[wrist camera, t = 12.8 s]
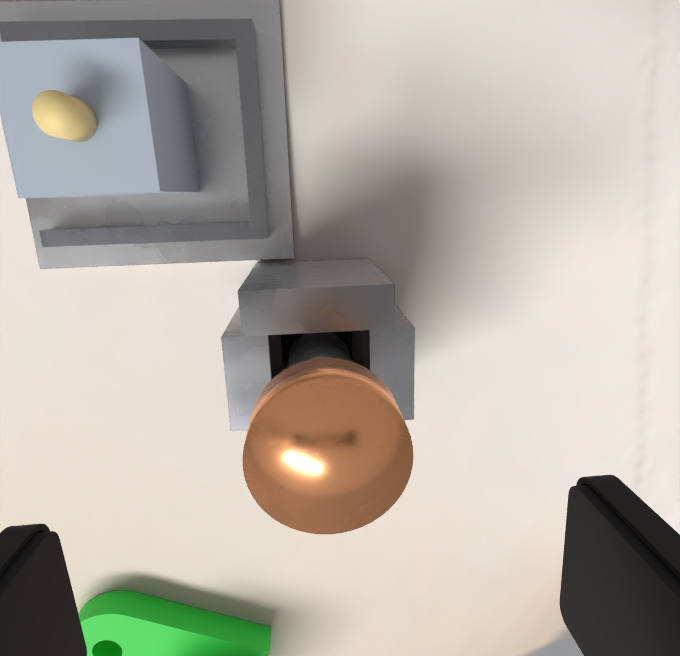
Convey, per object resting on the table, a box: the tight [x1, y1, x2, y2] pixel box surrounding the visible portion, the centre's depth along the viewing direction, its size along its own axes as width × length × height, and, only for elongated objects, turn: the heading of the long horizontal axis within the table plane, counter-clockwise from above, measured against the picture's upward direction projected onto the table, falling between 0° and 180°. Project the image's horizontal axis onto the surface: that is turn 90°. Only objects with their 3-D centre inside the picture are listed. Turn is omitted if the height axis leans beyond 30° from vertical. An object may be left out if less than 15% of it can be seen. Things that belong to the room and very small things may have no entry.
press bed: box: [0, 0, 294, 269], centre depth 23 cm, size 13×12×2 cm
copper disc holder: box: [221, 258, 415, 431], centre depth 23 cm, size 8×8×8 cm
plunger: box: [243, 332, 413, 534], centre depth 18 cm, size 5×5×8 cm
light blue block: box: [0, 38, 199, 198], centre depth 20 cm, size 5×5×8 cm
